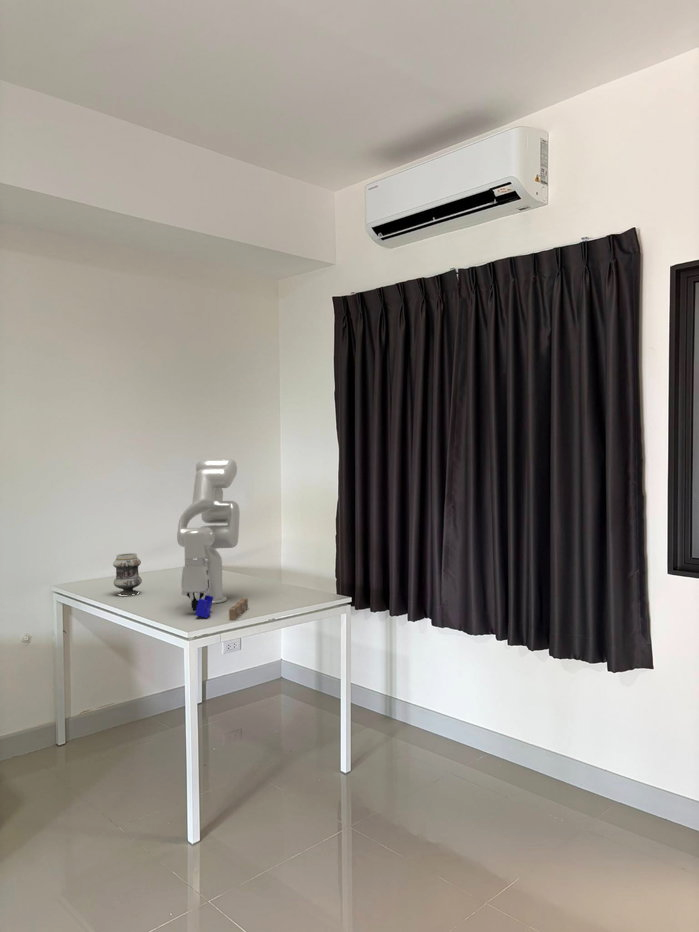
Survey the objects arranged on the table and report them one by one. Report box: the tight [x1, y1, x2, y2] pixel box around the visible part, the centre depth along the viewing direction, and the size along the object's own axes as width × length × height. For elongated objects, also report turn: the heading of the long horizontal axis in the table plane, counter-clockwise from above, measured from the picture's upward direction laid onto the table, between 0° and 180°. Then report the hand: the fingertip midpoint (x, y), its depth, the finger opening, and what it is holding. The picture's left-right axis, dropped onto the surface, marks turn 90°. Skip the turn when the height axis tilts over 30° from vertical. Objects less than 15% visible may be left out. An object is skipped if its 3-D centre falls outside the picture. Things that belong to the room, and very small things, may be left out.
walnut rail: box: [228, 597, 249, 621], centre depth 266 cm, size 20×2×4 cm, turn 174°
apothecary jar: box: [112, 552, 143, 595], centre depth 311 cm, size 12×12×18 cm
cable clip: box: [194, 595, 213, 619], centre depth 265 cm, size 12×4×6 cm, turn 179°
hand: (196, 610), depth 267 cm, fingers closed
